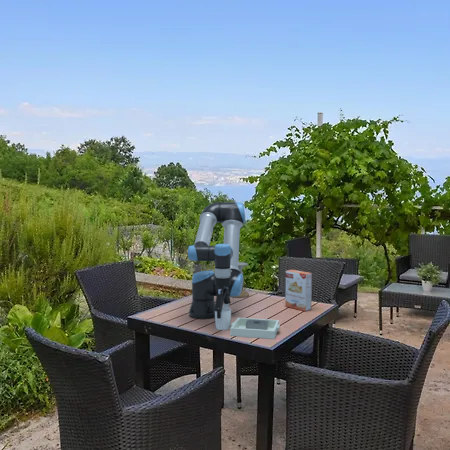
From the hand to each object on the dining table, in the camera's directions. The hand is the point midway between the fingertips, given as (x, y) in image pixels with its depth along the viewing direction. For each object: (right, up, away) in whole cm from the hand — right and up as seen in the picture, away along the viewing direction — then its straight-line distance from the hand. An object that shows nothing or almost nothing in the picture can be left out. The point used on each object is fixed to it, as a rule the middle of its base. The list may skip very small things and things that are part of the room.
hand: (222, 320), depth 223 cm
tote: (+15, -5, -5) cm, 17 cm away
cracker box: (+42, -1, +38) cm, 57 cm away
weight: (+16, -4, 0) cm, 17 cm away
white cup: (0, -5, +1) cm, 5 cm away
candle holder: (+10, +2, +68) cm, 69 cm away
